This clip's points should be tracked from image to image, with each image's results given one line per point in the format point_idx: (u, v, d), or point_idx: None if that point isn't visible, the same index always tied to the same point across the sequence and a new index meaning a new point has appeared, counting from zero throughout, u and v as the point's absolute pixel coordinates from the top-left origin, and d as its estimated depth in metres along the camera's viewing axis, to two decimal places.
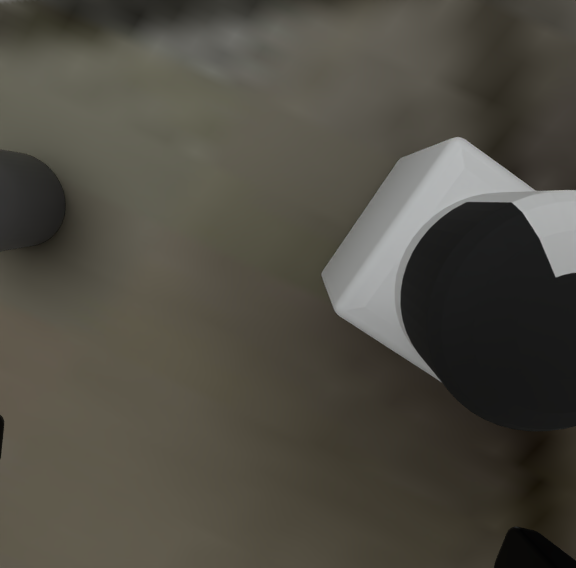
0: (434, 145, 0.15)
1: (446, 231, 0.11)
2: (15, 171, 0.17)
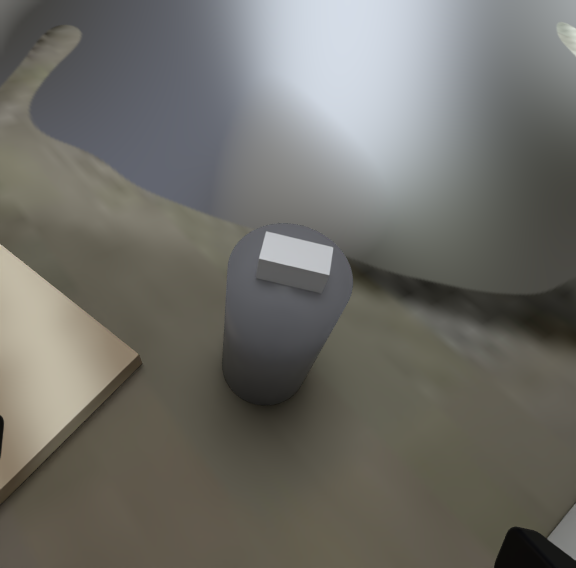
0: None
1: None
2: None
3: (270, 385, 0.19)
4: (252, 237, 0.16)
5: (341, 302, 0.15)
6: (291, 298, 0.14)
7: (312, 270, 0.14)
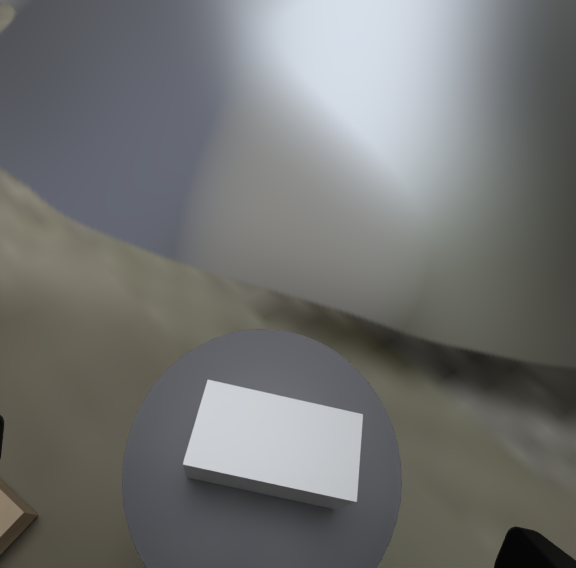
0: None
1: None
2: None
3: None
4: (188, 367, 0.07)
5: (379, 531, 0.07)
6: (266, 530, 0.06)
7: (315, 490, 0.06)
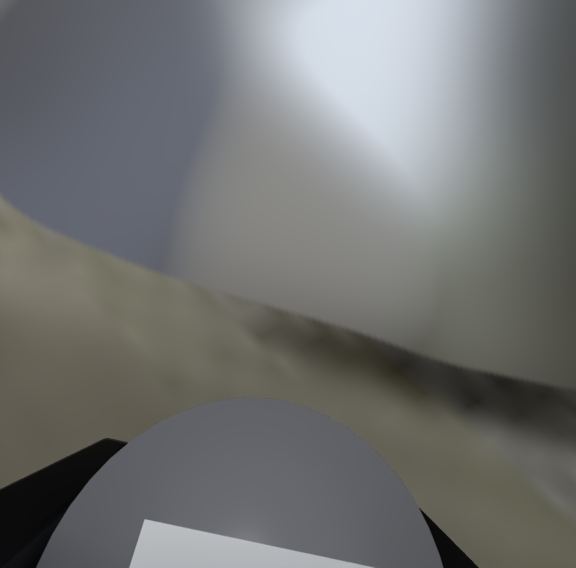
0: None
1: None
2: None
3: None
4: (132, 464, 0.05)
5: None
6: None
7: None
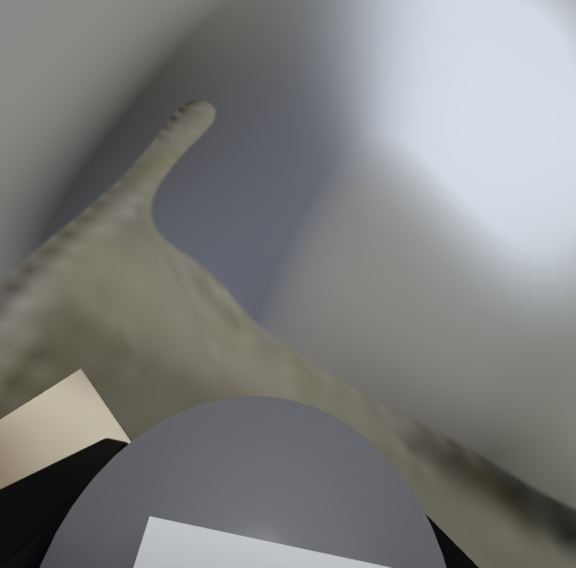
0: None
1: None
2: None
3: None
4: (136, 463, 0.05)
5: None
6: None
7: None
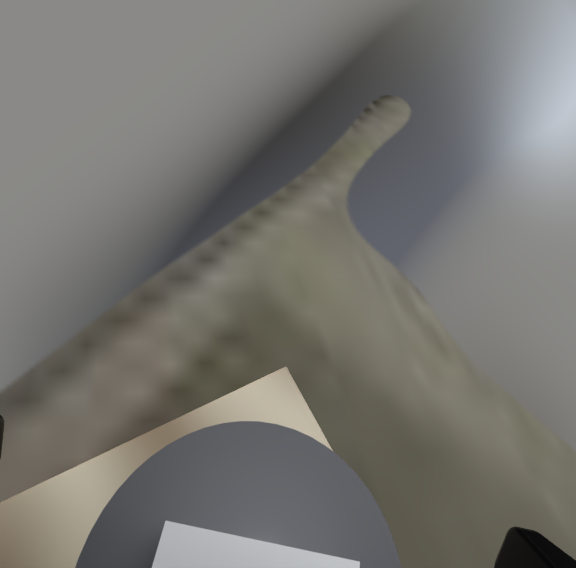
0: None
1: None
2: None
3: None
4: (151, 477, 0.06)
5: None
6: None
7: None
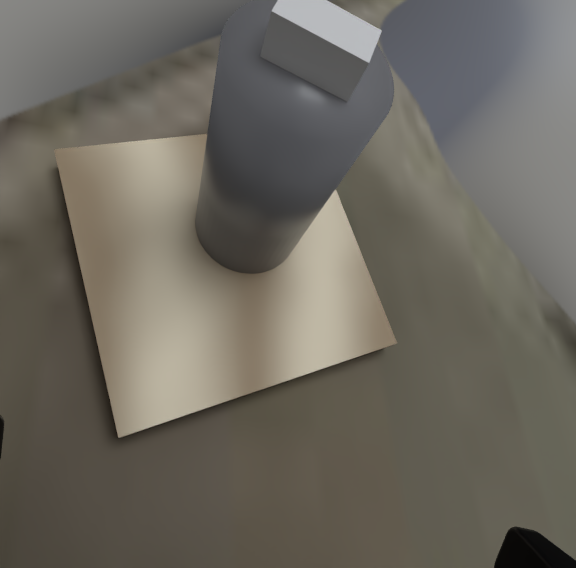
0: None
1: None
2: None
3: (250, 239, 0.15)
4: (265, 4, 0.11)
5: (372, 120, 0.10)
6: (305, 96, 0.10)
7: (346, 49, 0.09)
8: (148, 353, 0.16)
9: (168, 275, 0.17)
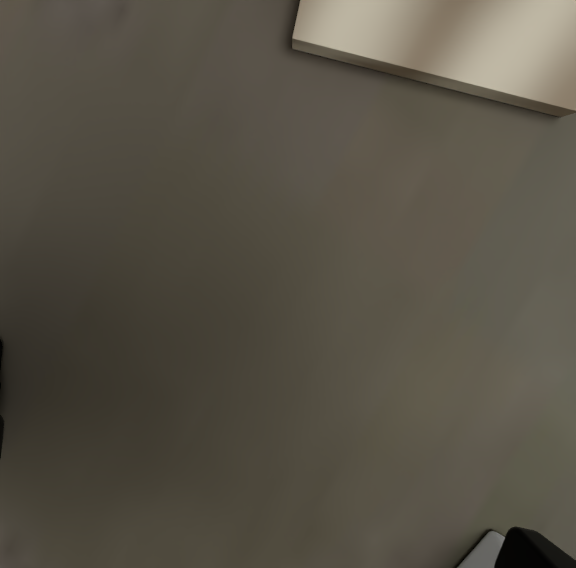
0: None
1: None
2: None
3: None
4: None
5: None
6: None
7: None
8: None
9: None
